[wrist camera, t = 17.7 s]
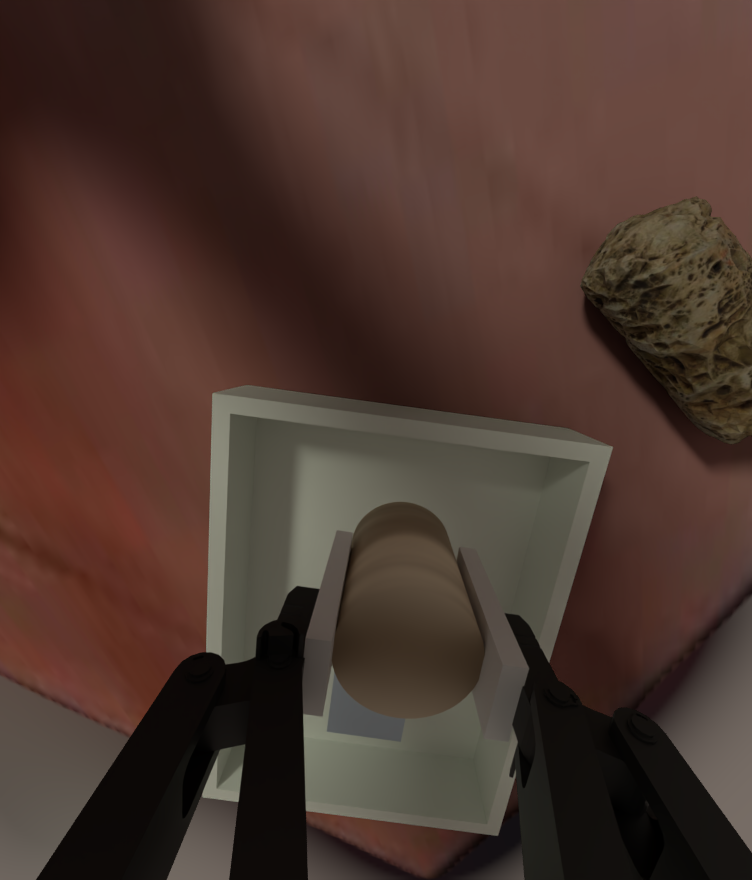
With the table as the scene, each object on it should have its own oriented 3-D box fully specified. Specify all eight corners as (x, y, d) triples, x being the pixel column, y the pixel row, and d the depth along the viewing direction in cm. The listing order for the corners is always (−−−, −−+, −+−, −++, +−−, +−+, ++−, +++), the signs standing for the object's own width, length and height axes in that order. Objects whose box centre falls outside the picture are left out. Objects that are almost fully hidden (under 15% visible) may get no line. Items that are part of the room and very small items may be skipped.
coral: (548, 281, 23) (606, 256, 17) (630, 202, 22) (724, 145, 16) (684, 441, 25) (778, 469, 19) (765, 376, 24) (893, 385, 18)
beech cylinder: (357, 495, 18) (339, 579, 11) (457, 509, 18) (499, 601, 11) (346, 583, 19) (324, 707, 12) (440, 596, 19) (468, 727, 12)
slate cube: (343, 615, 28) (334, 670, 23) (408, 624, 28) (412, 681, 23) (336, 668, 29) (326, 731, 24) (398, 677, 29) (400, 741, 24)
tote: (230, 729, 32) (202, 797, 27) (246, 384, 25) (212, 393, 20) (480, 762, 32) (497, 835, 27) (568, 428, 25) (613, 446, 20)
